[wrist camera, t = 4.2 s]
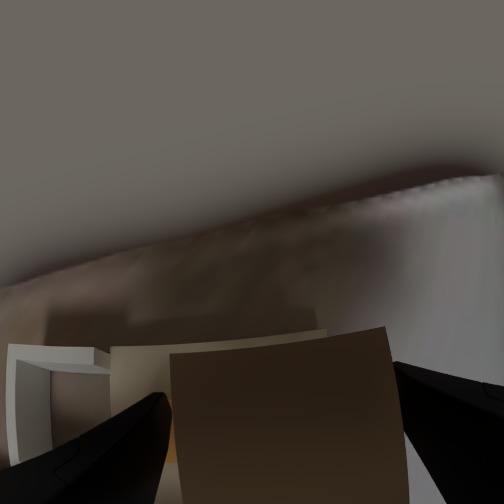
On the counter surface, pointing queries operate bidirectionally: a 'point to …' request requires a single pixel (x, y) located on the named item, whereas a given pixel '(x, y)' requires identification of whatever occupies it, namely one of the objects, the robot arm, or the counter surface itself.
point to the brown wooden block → (290, 423)
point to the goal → (40, 392)
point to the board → (158, 380)
